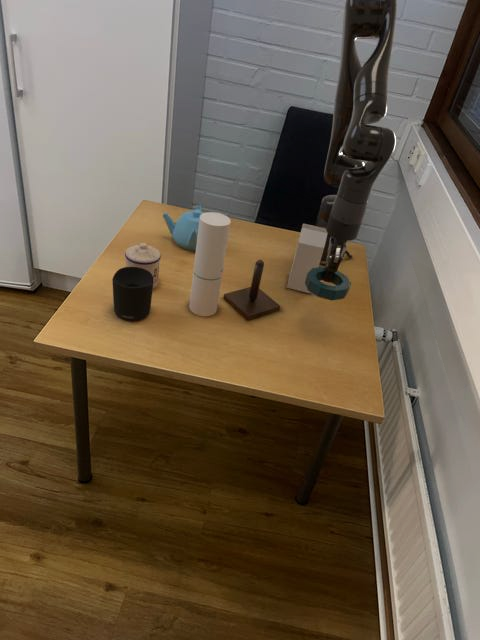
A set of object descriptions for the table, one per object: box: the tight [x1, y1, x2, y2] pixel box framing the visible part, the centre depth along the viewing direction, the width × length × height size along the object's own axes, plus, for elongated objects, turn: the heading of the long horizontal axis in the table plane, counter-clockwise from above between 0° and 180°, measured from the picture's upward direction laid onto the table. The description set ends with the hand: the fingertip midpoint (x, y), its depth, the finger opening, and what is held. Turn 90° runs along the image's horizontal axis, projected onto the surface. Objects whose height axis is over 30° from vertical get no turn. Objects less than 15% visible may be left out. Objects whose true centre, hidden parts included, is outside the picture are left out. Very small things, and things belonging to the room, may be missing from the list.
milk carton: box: [286, 223, 328, 294], centre depth 133 cm, size 7×7×19 cm
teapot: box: [162, 205, 204, 252], centre depth 146 cm, size 15×15×11 cm
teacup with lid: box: [124, 242, 162, 290], centre depth 124 cm, size 12×9×12 cm
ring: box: [305, 266, 352, 301], centre depth 114 cm, size 11×11×3 cm
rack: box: [223, 259, 281, 322], centre depth 122 cm, size 11×11×14 cm
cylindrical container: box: [189, 211, 232, 317], centre depth 114 cm, size 7×7×25 cm
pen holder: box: [111, 266, 154, 322], centre depth 112 cm, size 9×9×10 cm
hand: (327, 278), depth 118 cm, fingers closed on ring, 2 cm apart
